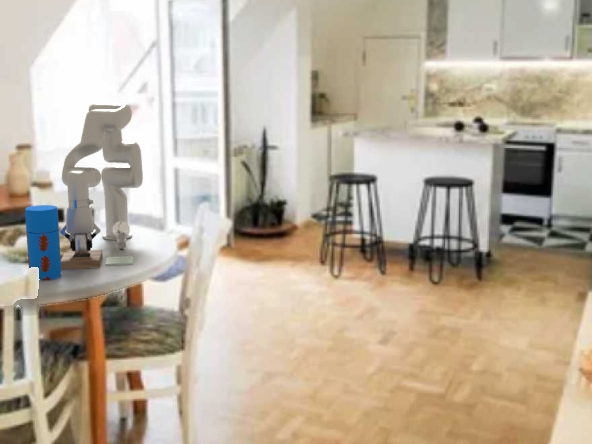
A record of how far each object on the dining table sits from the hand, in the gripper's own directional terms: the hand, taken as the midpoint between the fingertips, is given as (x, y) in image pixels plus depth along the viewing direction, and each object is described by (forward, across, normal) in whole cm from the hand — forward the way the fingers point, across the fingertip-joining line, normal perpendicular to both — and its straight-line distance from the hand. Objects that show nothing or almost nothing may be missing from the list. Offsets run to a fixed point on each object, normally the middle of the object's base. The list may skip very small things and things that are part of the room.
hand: (81, 249), depth 278 cm
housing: (+5, 0, 0) cm, 5 cm away
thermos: (+5, +11, +17) cm, 21 cm away
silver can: (+4, 0, 0) cm, 4 cm away
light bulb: (+6, -14, -19) cm, 24 cm away
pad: (+5, -14, 0) cm, 15 cm away
